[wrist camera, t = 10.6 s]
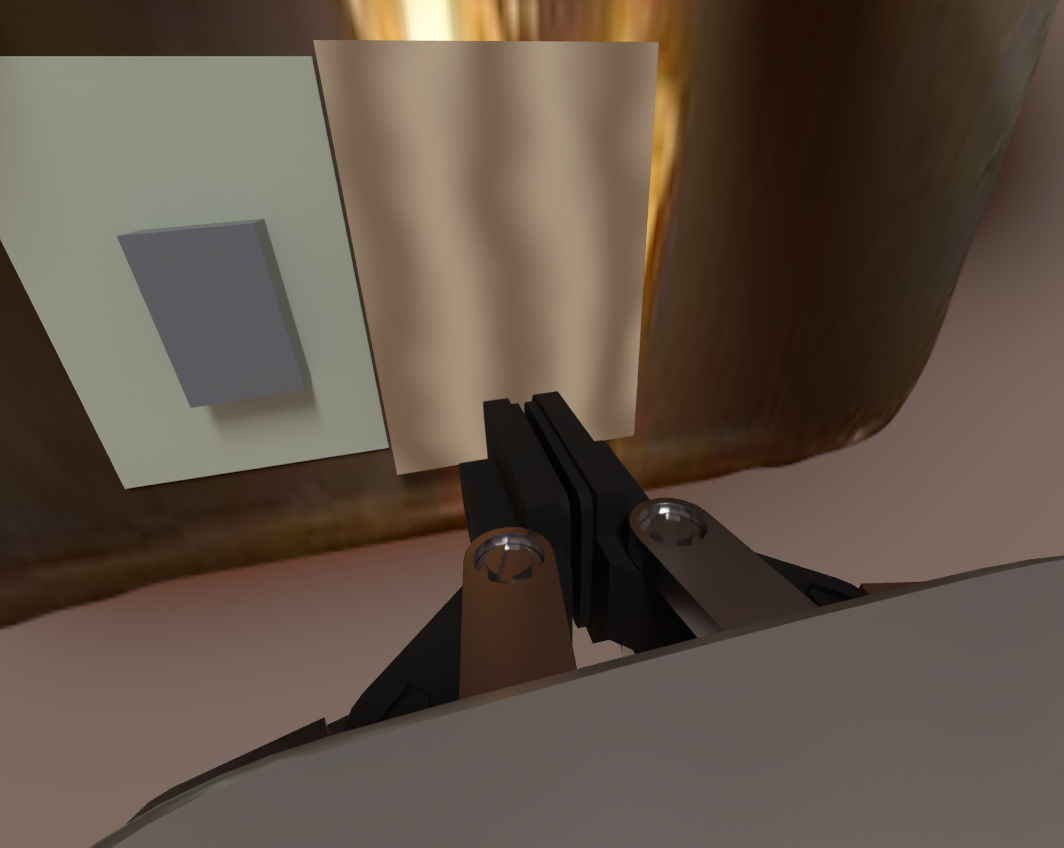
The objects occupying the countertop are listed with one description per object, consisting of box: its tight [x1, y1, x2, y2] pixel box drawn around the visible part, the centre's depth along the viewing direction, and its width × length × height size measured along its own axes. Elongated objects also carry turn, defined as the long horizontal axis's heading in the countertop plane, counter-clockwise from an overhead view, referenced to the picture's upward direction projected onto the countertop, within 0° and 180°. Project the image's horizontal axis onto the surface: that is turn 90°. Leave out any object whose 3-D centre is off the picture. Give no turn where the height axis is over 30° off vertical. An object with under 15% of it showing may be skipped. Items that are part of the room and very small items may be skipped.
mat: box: [0, 56, 389, 489], centre depth 28 cm, size 16×22×1 cm
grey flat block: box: [117, 219, 310, 408], centre depth 27 cm, size 6×9×2 cm, turn 4°
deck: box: [313, 40, 659, 475], centre depth 30 cm, size 16×22×4 cm
